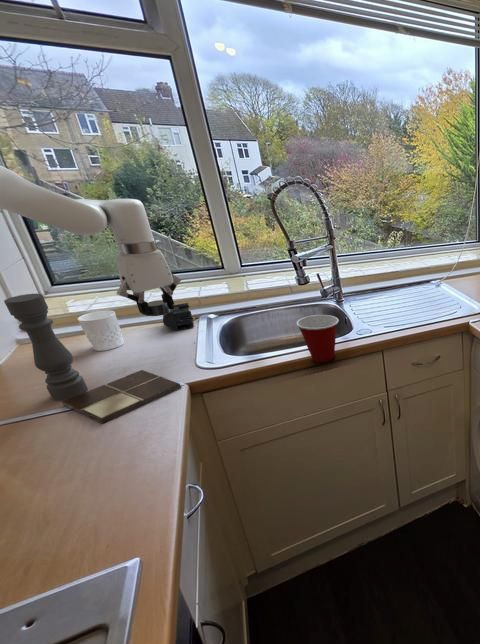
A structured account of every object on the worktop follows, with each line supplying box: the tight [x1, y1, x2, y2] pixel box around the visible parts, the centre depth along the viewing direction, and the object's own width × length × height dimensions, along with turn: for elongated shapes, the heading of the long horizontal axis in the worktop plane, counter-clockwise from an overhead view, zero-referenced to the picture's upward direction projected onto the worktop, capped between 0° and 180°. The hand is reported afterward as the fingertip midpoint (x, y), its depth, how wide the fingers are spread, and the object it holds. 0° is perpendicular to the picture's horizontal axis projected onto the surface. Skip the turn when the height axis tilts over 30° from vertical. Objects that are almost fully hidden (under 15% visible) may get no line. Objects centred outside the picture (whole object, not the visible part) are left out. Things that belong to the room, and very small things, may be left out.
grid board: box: [61, 369, 182, 425], centre depth 98 cm, size 16×16×1 cm
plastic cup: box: [296, 314, 340, 363], centre depth 116 cm, size 11×11×12 cm
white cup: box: [77, 309, 125, 352], centre depth 120 cm, size 8×8×10 cm
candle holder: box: [3, 293, 89, 402], centre depth 94 cm, size 6×6×25 cm
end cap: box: [162, 302, 195, 331], centre depth 135 cm, size 10×7×7 cm
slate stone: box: [147, 299, 170, 317], centre depth 114 cm, size 5×5×3 cm
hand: (158, 310), depth 114 cm, fingers closed on slate stone, 5 cm apart
